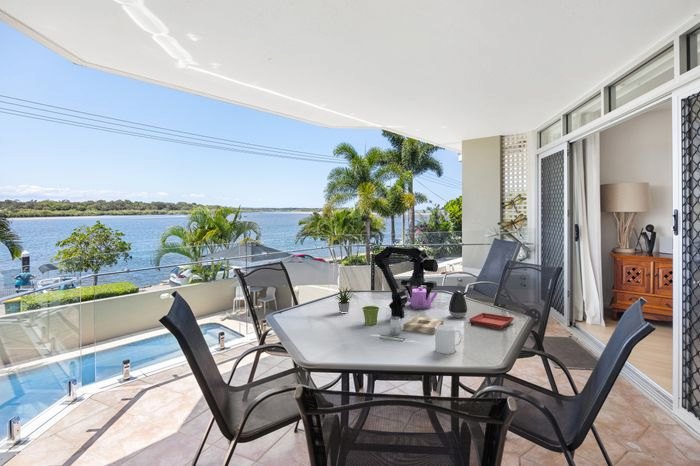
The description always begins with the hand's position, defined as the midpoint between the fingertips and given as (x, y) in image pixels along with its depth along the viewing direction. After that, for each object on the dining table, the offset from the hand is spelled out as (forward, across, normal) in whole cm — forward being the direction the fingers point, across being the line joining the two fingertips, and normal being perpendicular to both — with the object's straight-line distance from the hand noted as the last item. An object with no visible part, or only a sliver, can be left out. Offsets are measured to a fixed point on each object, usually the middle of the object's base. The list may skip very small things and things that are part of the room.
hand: (418, 298), depth 205 cm
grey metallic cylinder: (+12, -1, -28) cm, 30 cm away
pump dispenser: (+13, +15, +21) cm, 29 cm away
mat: (+13, -1, -28) cm, 31 cm away
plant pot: (+13, -22, -15) cm, 29 cm away
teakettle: (+13, -13, +36) cm, 40 cm away
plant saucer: (+13, +35, +17) cm, 41 cm away
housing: (+13, +7, -11) cm, 19 cm away
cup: (+13, +28, -34) cm, 46 cm away
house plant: (+13, -46, -1) cm, 48 cm away
